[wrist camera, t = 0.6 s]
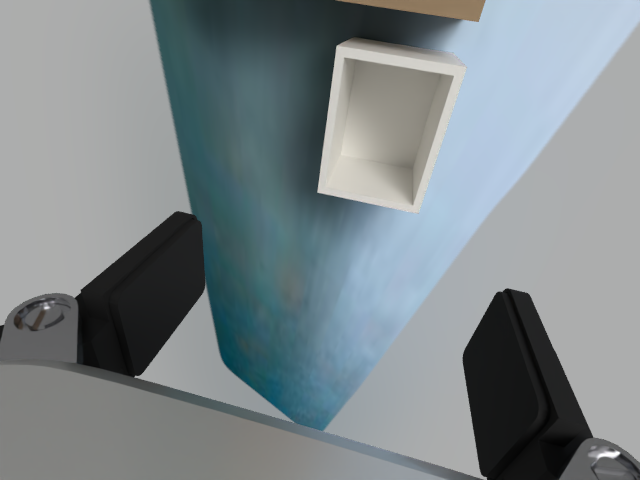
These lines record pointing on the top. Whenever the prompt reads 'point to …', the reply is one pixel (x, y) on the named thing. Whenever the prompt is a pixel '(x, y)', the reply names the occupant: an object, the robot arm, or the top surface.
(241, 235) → the top surface
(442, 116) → the cream crate
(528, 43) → the top surface
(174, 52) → the top surface
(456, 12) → the pine crate
